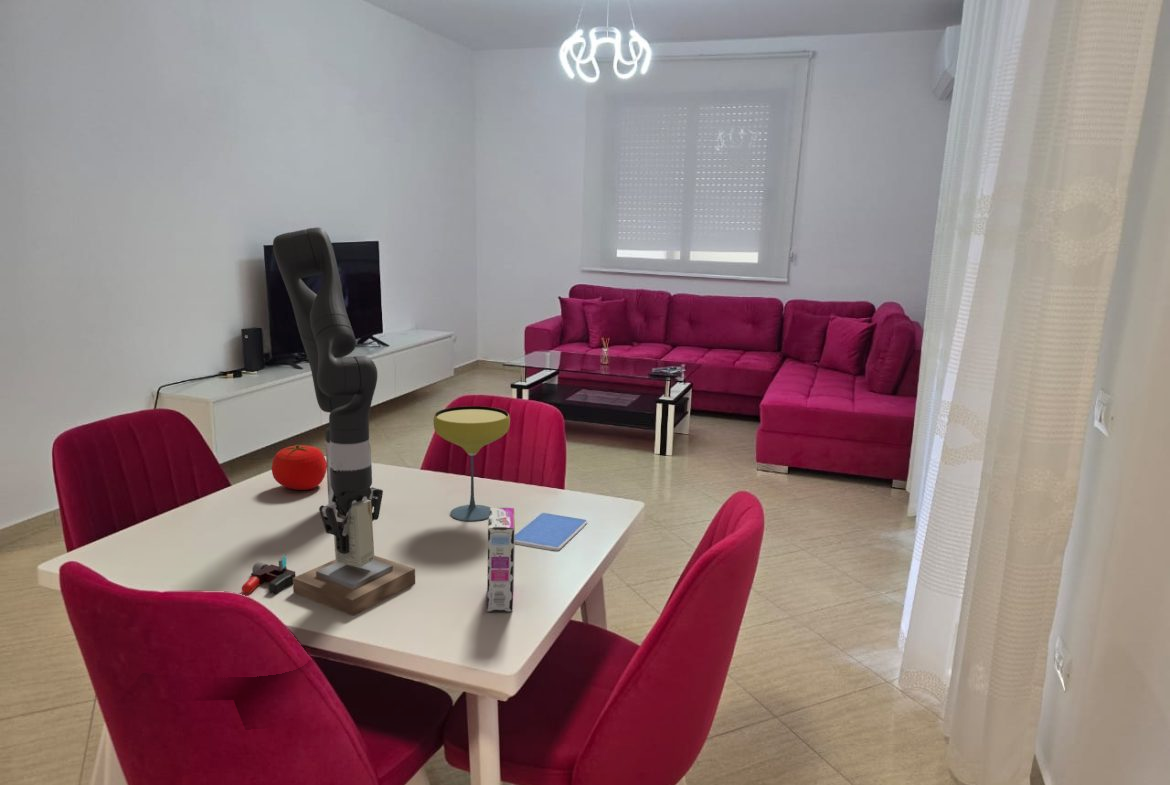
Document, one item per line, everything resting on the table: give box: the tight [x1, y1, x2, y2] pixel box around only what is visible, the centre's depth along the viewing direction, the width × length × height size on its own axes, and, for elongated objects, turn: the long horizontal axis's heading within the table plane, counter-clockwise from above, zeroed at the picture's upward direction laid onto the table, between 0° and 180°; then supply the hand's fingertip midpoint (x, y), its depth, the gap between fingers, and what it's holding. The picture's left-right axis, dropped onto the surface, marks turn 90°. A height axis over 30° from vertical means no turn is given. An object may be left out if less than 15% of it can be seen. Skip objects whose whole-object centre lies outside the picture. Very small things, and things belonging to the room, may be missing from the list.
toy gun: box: [241, 554, 296, 595], centre depth 151 cm, size 10×12×5 cm
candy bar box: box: [486, 507, 516, 613], centre depth 146 cm, size 11×5×16 cm, turn 5°
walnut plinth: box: [292, 554, 416, 616], centre depth 150 cm, size 16×16×4 cm
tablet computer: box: [515, 512, 589, 552], centre depth 181 cm, size 19×13×1 cm, turn 159°
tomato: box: [271, 444, 327, 491], centre depth 205 cm, size 13×14×12 cm
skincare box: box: [333, 500, 375, 567], centre depth 148 cm, size 6×4×12 cm
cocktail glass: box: [433, 405, 511, 522], centre depth 188 cm, size 18×18×25 cm
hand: (353, 547), depth 149 cm, fingers closed on skincare box, 4 cm apart
